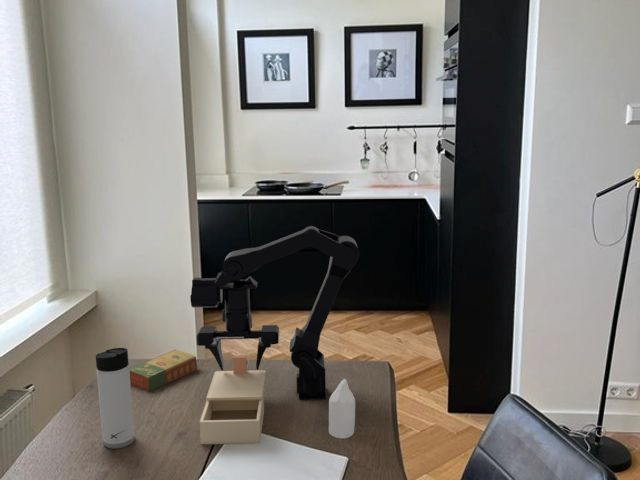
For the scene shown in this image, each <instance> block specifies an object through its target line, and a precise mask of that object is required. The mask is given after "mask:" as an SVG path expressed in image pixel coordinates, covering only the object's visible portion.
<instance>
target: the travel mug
mask: <svg viewBox="0 0 640 480" xmlns="http://www.w3.org/2000/svg"><path fill="white" fill-rule="evenodd" d="M95 363H96V366H95V367H96V378H97V392H98V400H99V401H98V403H99V412H100V413H99V414H100V424H101V425H100V426H101V433H102V444H103V446H104V447H106V448H108V449H113V450H115V449H122V448H126V447H127V446H130V445H131V444H132V443H133V442H134V441H135V440H136V437H135V434H136V433H135V422H134V413H133V412H134V411H133V398H132V397H133V396H132V390H131V389H132V388H131V387H132V385H131V384H130V372H129V369H130V363H129V353H128V348H126V347H115V348H110V349H106V350H105V351H103V352H100V353H99V352H98V353H97V354H96V355H95Z"/></svg>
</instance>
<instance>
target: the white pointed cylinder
mask: <svg viewBox="0 0 640 480" xmlns="http://www.w3.org/2000/svg"><path fill="white" fill-rule="evenodd" d="M355 426H356V398H355V396H354V394H353V392H352V390H351V389H350V388H349V384H348V380H347V379H346V378H343V379H342V380H341V381H340V382H339V384H338V385H337V387H336V389H335V390H334V391H333V392H332V393H331V396H330V397H329V400H328V433H329V435H331V436H332V437H334V438H336V439H343V440H344V439H348V438H350V437H352V436H353V434H355Z"/></svg>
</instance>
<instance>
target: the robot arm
mask: <svg viewBox="0 0 640 480" xmlns="http://www.w3.org/2000/svg"><path fill="white" fill-rule="evenodd" d="M310 247H311V248H313V249H316V250H318V251H319V252H321V253H323V254H325V255H326V256H329V262H328V263H329V264H328V268H327V273H326V275H325V277H324V279H323V282H322V285H321V287H320V290H319V291H318V294H317V297H316V299H315V301H314V303H313V306H312V309H311V310H310V313H309V316H308V319H307V321H306V323H305V325H303V327H302V328H299V327H298V326H297V327H295V330H294V335H293V337H292V338H291V340H289V352H290V360H291V362H292V364H293V366H295V367H296V368H298V372H297V374H296V377H295V378H296V379H295V380H296V394H297V395H298V400H302V401H303V400H304V401H305V400H307V401H308V400H326V399H327V387H326V383H327V381H326V380H327V379H326V377H327V376H326V371H327V370H326V366H325V354H324V353H322V352H321V350H319V346H320V345H319V344H320V338H321V333H322V331H323V328H324V326H325V324H326V321H327V319H328V316H329V314H330V312H331V310H332V307H333V305H334V302H335V300H336V298H337V295H338V292H339V290H340V289H341V286H342V283H343V281H344V279H345V278H346V277H347V276H348V275H349V273H350V272H351V271H352V269H353V268H354V267H355V265H356V263H357V262H358V260H359V257H360V250H359V247H358V245H357V242H356V240H355V239H354V238H353V237H351V236H349V235H337V234H335V233H332V232H329V231H327V230H322V229H319V228H317V227H316V226H313V225H309V226H307V227H305V228H304V229H301V230H299V231H296V232H294V233H291V234H289V235H287V236H284V237H281V238H279V239H276V240H273V241H270V242H269V243H266V244H263V245H260V246H257V247H249V248H243V249H238V250H233V251H231V252H229V253H228V254H227V255H226V257H225V259H224V261H223V262H222V265H221V271H220V272H218V273H217V275H216V277H207V278H206V277H204V278H203V277H193V278H192V280H191V283H192V284H191V294H190V296H189V298H190V305H191V308H195V309H196V308H217V307H218V306H219V303H221V304H222V302H223V298H224V308H223V309H222V316H221V317H222V318H221V320H222V322H223V323H225V330H218V328H217V326H216V325H215V326H201V327H200V328H199V330H198V332H197V334H196V345H197V346H199V347H203V346H204V349H206V350H209V351H210V353H211V354H212V355H213V357H214V358H215V360H216V362H217V364H218V367H219V368H220V371H225V370H224V368H225V367H224V366H225V365H224V357H223V349H222V340H252V339H253V340H254V339H255V340H256V339H258V344H257V352H256V363H255V369H256V370H260V369H259V368H260V365H261V362H262V358H263V356H264V354H265V351H266V350H267V348H272V345H278V344H279V341H280V327H279V326H278V325H277V324H275V325H274V324H273V325H272V324H271V325H270V324H269V325H267V324H266V325H262V327H261V329H260V330H259V329H258V330H255V329H254V330H252V327H253V317H252V312H251V302H250V301H251V300H250V289H251V290H255V289H257V287H258V282H257V281H256V280H255V279H254V278H252V277H253V276H251V274H252V273H254V272H255V271H257V270H258V269H260V268H261V267H262V266H264V265H267V264H268V263H269V264H270V263H271V262H274V261H277V260H280V259H281V258H284V257H287V256H290V255H292V254H294V253H297V252H299V251H302V250H304V249H308V248H310ZM249 275H250V276H249ZM247 276H248V277H247ZM246 277H247V278H246ZM244 278H246V279H244ZM223 290H224V291H223ZM223 292H224V294H223ZM223 295H224V297H223Z"/></svg>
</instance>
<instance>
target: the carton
mask: <svg viewBox="0 0 640 480" xmlns="http://www.w3.org/2000/svg"><path fill="white" fill-rule="evenodd" d="M197 370H198V364H197V356H196V355H193V354H191V353H187V352H185V351H181V350H177V349H173V350H171V351H168V352H166V353H164V354H162V355H159V356H156V357H155V358H153V359H150V360H148V361H145V362H143V363H141V364H138V365H136V366H133V367H130V368H129V372H130V384H131V386H132V387H135V388H137V389H141V390H145V391H147V392H151V391H153V390H155V389H158V388H160V387H162V386H164V385H166V384H168V383H171V382H173V381H174V380H177V379H179V378H182V377H183V376H186V375H187V374H191V373H192V372H195V371H197Z"/></svg>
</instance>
